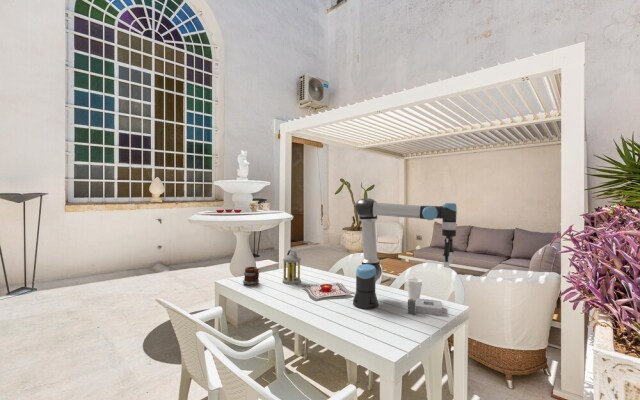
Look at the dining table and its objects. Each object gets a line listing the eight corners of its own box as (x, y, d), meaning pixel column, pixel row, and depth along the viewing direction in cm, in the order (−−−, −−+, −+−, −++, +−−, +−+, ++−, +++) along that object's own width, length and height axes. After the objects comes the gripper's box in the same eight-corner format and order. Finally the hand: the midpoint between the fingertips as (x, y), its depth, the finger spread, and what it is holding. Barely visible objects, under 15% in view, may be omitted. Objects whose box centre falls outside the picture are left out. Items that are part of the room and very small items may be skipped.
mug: (252, 280, 233) (254, 261, 231) (263, 287, 224) (265, 267, 222) (239, 282, 225) (241, 263, 223) (249, 290, 215) (252, 270, 213)
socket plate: (415, 311, 173) (415, 305, 173) (416, 303, 186) (416, 298, 186) (441, 315, 168) (441, 309, 168) (441, 307, 181) (441, 301, 181)
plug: (407, 313, 170) (407, 299, 170) (408, 311, 173) (408, 297, 173) (414, 314, 168) (415, 300, 168) (415, 312, 172) (415, 298, 172)
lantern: (278, 281, 231) (279, 249, 231) (293, 278, 241) (293, 247, 241) (289, 285, 221) (290, 251, 221) (304, 282, 230) (305, 249, 230)
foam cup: (422, 303, 187) (422, 282, 187) (407, 302, 189) (407, 281, 189) (420, 298, 196) (420, 278, 196) (405, 297, 198) (406, 277, 198)
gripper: (453, 231, 164) (452, 270, 165) (458, 227, 186) (457, 262, 186) (438, 230, 168) (437, 268, 168) (445, 227, 190) (444, 260, 190)
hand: (448, 265), depth 177 cm, fingers open, 13 cm apart
